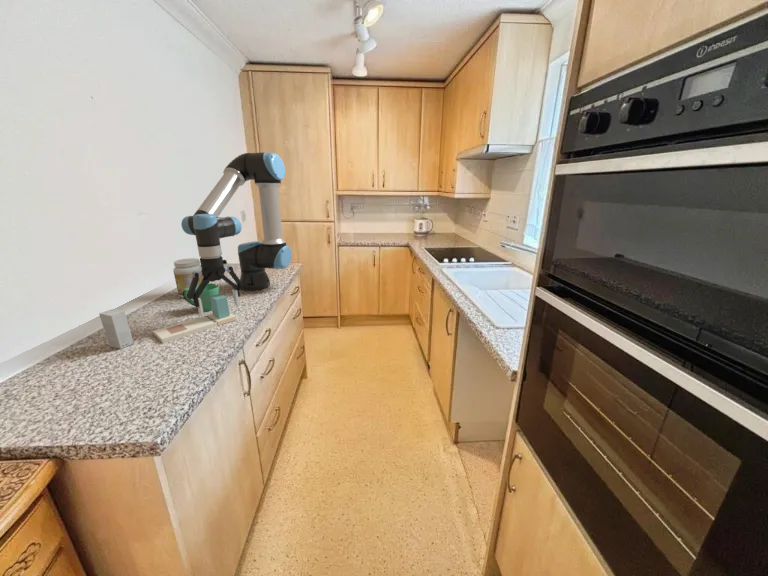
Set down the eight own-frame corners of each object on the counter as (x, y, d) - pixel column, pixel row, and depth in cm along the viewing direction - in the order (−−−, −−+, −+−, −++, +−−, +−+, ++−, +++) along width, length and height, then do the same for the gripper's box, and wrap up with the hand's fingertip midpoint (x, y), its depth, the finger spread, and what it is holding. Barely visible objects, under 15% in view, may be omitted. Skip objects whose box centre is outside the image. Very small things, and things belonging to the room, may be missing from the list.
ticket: (206, 318, 126) (206, 315, 126) (217, 325, 120) (216, 322, 119) (153, 334, 113) (152, 330, 113) (163, 343, 107) (162, 339, 106)
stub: (225, 313, 131) (221, 291, 128) (236, 319, 125) (232, 297, 122) (207, 318, 126) (203, 296, 123) (218, 325, 120) (214, 302, 117)
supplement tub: (178, 293, 155) (171, 259, 149) (206, 289, 161) (200, 256, 156) (179, 300, 145) (171, 265, 140) (208, 295, 151) (202, 261, 146)
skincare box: (134, 343, 107) (125, 311, 103) (120, 349, 103) (110, 316, 99) (122, 340, 109) (112, 308, 105) (108, 346, 105) (98, 313, 101)
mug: (225, 304, 141) (222, 283, 138) (216, 313, 132) (212, 290, 129) (191, 305, 140) (187, 284, 137) (180, 314, 130) (175, 291, 127)
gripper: (239, 250, 129) (245, 299, 136) (169, 260, 111) (181, 316, 117) (248, 252, 124) (254, 303, 131) (176, 264, 106) (188, 321, 113)
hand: (219, 309), depth 124 cm, fingers open, 13 cm apart
